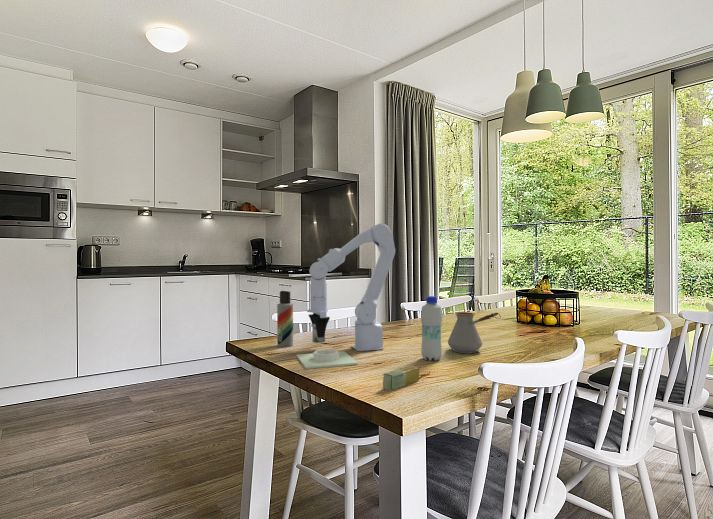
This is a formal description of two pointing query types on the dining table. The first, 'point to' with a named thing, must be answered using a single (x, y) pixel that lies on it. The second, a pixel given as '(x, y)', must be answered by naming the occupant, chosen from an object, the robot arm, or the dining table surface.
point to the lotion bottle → (285, 320)
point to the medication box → (400, 377)
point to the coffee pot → (466, 333)
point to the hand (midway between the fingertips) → (319, 335)
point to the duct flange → (326, 359)
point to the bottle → (431, 329)
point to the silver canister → (314, 335)
